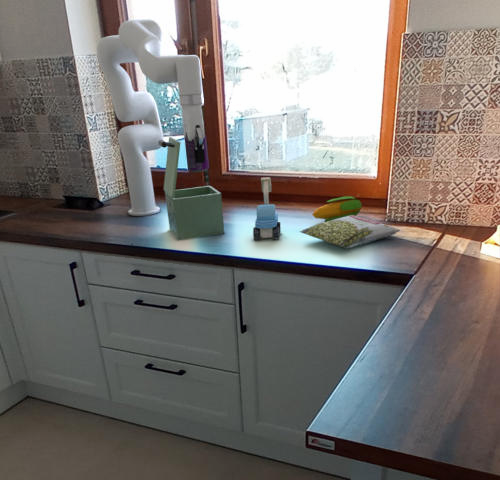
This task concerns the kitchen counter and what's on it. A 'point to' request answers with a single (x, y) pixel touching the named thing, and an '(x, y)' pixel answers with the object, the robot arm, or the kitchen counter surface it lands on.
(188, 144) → the beverage can
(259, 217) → the toy excavator
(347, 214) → the corn
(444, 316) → the kitchen counter surface
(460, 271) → the kitchen counter surface
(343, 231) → the frozen beans
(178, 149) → the green box lid
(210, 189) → the green box
